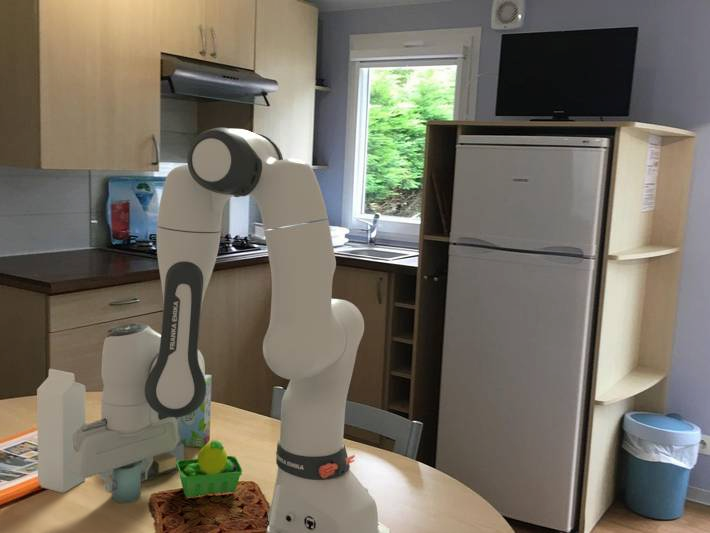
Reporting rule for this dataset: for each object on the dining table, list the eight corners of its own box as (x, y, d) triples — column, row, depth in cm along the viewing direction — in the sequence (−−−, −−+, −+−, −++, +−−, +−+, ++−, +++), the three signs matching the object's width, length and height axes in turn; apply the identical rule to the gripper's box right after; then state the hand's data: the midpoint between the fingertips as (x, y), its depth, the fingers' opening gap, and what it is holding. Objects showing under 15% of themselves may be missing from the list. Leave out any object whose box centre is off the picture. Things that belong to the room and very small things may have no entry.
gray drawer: (188, 469, 149) (188, 439, 148) (145, 485, 141) (145, 452, 140) (154, 452, 156) (154, 422, 155) (111, 465, 149) (111, 434, 148)
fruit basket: (234, 479, 146) (236, 424, 144) (244, 499, 138) (246, 442, 136) (175, 485, 142) (176, 429, 140) (181, 507, 134) (183, 447, 132)
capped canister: (145, 496, 137) (146, 460, 136) (121, 505, 133) (122, 468, 132) (130, 487, 140) (130, 452, 139) (106, 495, 136) (106, 459, 135)
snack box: (210, 439, 165) (212, 373, 163) (203, 449, 160) (205, 381, 157) (118, 430, 167) (119, 365, 165) (108, 439, 161) (108, 373, 159)
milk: (60, 474, 144) (60, 364, 141) (86, 480, 142) (86, 369, 138) (37, 486, 138) (36, 372, 135) (62, 493, 136) (62, 377, 133)
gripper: (83, 432, 124) (82, 509, 127) (183, 405, 140) (181, 474, 142) (63, 422, 128) (64, 497, 131) (163, 396, 144) (162, 464, 146)
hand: (126, 485), depth 136 cm, fingers closed on capped canister, 5 cm apart
